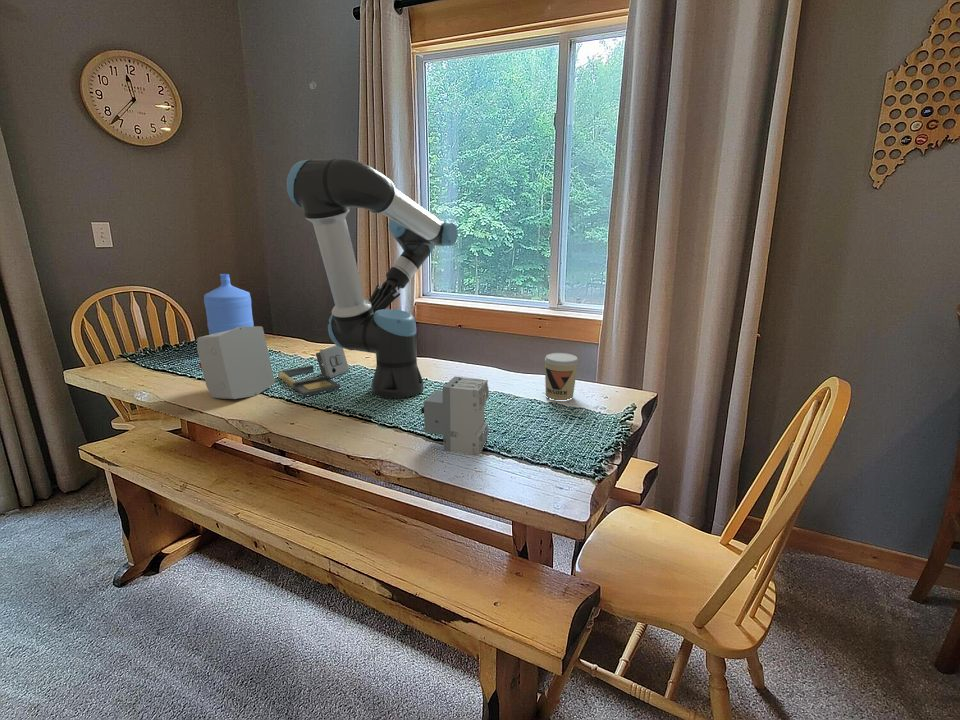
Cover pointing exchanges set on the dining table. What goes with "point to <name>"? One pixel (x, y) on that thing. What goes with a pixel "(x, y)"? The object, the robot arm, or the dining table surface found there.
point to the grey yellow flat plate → (308, 381)
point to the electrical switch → (332, 361)
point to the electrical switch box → (235, 362)
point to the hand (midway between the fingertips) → (358, 328)
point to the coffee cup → (560, 375)
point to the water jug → (227, 307)
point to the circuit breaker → (458, 414)
